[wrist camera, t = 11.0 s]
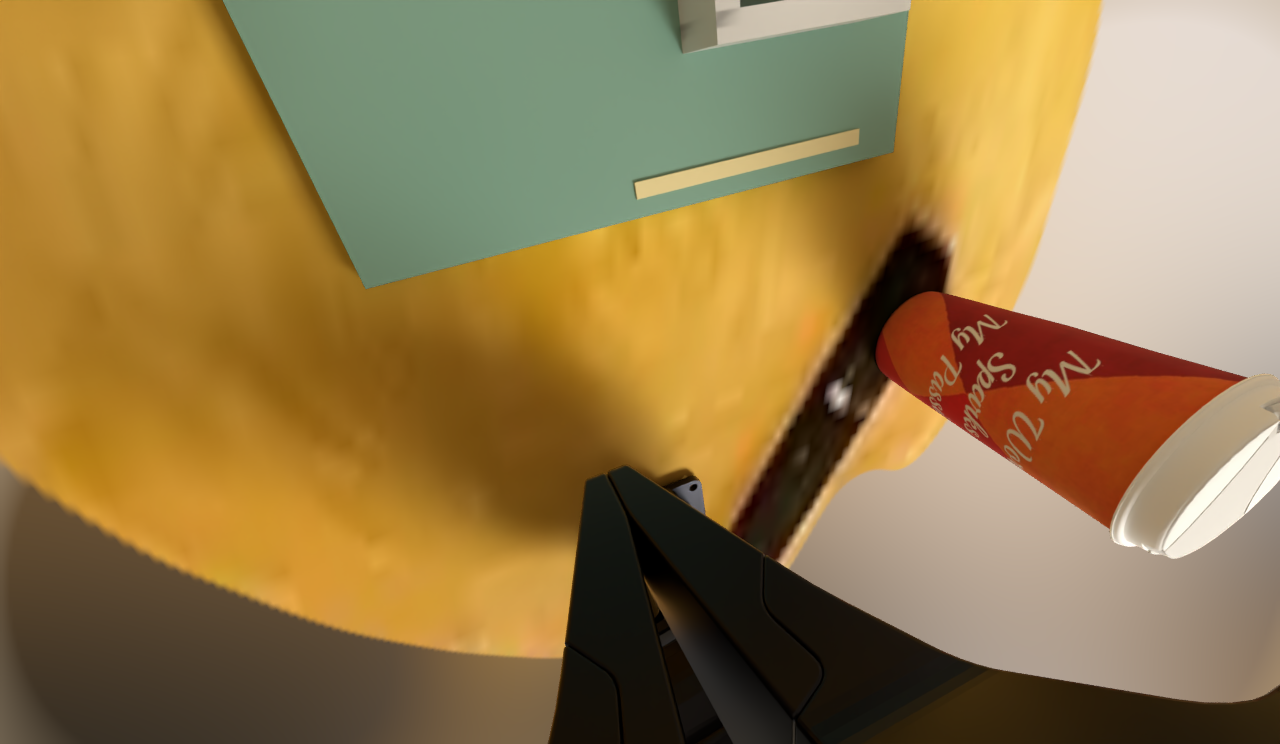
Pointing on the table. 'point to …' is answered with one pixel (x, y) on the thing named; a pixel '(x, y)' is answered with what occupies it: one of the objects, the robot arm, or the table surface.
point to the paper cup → (1094, 417)
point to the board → (562, 110)
